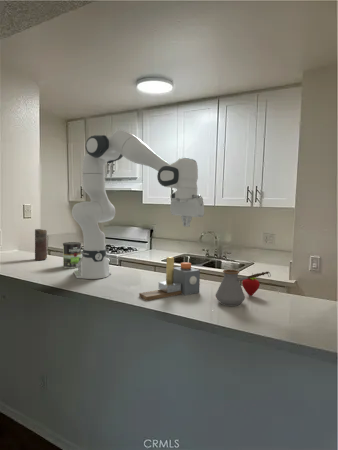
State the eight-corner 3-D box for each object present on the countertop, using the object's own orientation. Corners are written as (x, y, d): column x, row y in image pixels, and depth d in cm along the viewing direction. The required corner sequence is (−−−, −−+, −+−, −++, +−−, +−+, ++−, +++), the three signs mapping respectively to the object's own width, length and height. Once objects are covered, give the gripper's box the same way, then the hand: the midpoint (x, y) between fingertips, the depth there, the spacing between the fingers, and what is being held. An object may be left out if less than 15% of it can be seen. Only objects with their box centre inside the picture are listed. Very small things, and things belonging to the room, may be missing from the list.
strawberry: (244, 292, 139) (245, 270, 138) (261, 295, 135) (262, 272, 134) (239, 295, 134) (240, 272, 133) (256, 299, 130) (257, 275, 129)
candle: (39, 258, 210) (38, 228, 208) (49, 258, 208) (49, 229, 207) (32, 260, 202) (32, 229, 201) (43, 260, 201) (42, 230, 199)
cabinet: (171, 289, 142) (172, 267, 141) (185, 287, 146) (186, 266, 145) (185, 295, 133) (186, 272, 132) (200, 292, 137) (200, 270, 136)
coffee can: (83, 267, 185) (83, 243, 184) (66, 269, 179) (66, 244, 178) (76, 264, 193) (76, 241, 192) (60, 266, 187) (60, 242, 186)
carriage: (158, 288, 136) (159, 257, 135) (171, 286, 140) (172, 255, 139) (167, 292, 130) (168, 259, 129) (180, 290, 134) (181, 258, 133)
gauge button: (178, 287, 140) (178, 263, 139) (186, 285, 143) (186, 262, 142) (184, 289, 136) (184, 264, 135) (192, 288, 139) (193, 263, 138)
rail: (139, 296, 130) (139, 293, 130) (173, 290, 140) (173, 287, 140) (146, 300, 125) (146, 296, 125) (181, 294, 135) (181, 290, 135)
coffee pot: (210, 303, 123) (211, 266, 122) (223, 296, 132) (224, 261, 131) (263, 316, 110) (264, 274, 109) (273, 307, 119) (275, 269, 118)
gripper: (208, 195, 130) (207, 228, 131) (179, 195, 146) (178, 224, 148) (196, 194, 126) (195, 228, 127) (168, 194, 143) (167, 224, 144)
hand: (186, 226), depth 137 cm, fingers closed
